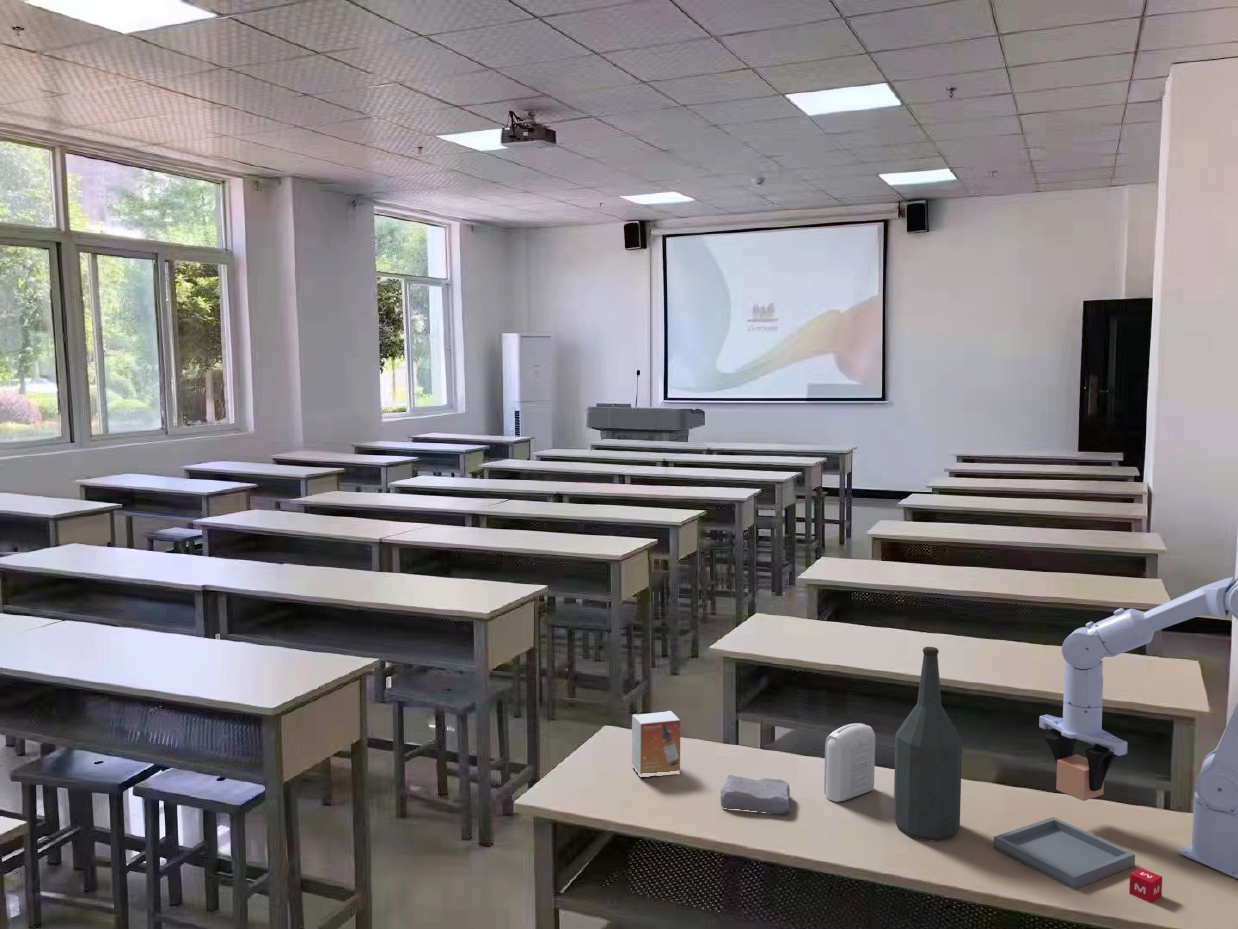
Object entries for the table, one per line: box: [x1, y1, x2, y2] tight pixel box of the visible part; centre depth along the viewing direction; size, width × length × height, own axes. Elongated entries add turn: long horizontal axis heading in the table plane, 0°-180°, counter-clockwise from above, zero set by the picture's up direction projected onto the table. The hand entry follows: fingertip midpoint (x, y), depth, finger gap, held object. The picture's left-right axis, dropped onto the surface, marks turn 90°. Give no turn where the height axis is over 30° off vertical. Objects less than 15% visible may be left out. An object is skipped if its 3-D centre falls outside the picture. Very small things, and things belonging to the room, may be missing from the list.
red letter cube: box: [1128, 867, 1163, 904], centre depth 134 cm, size 3×3×3 cm
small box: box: [631, 710, 681, 774], centre depth 177 cm, size 8×6×10 cm
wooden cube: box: [1055, 754, 1105, 802], centre depth 155 cm, size 5×5×5 cm
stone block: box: [719, 774, 791, 815], centre depth 165 cm, size 12×5×10 cm
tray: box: [993, 816, 1136, 890], centre depth 145 cm, size 14×14×2 cm
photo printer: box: [823, 722, 876, 803], centre depth 167 cm, size 10×4×12 cm, turn 126°
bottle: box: [893, 646, 963, 842], centre depth 153 cm, size 10×10×30 cm
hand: (1080, 783), depth 155 cm, fingers closed on wooden cube, 5 cm apart
